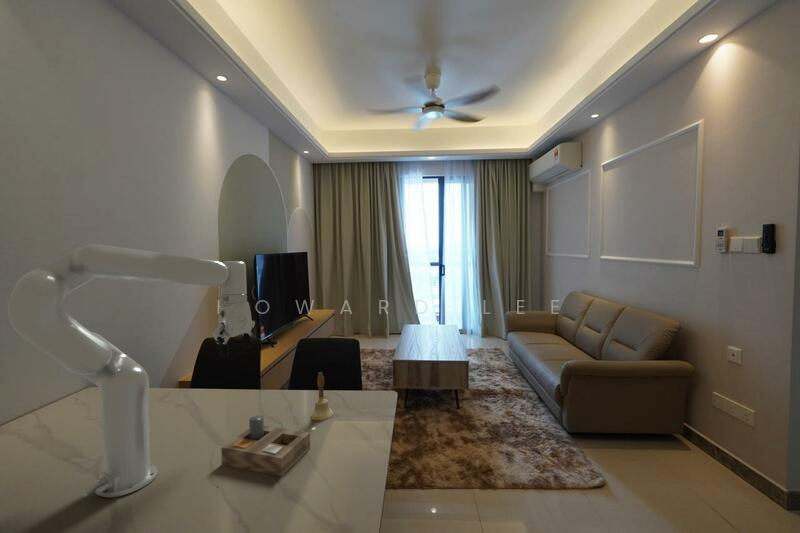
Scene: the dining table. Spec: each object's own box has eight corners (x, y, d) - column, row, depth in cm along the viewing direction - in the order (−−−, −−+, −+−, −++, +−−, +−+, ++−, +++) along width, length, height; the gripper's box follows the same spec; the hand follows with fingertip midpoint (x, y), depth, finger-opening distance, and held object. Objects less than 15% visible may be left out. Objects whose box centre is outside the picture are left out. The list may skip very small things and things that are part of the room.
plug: (258, 452, 103) (257, 422, 103) (247, 450, 104) (246, 420, 104) (267, 445, 107) (266, 416, 106) (256, 443, 108) (255, 414, 108)
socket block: (310, 448, 106) (309, 431, 106) (281, 476, 93) (281, 457, 93) (255, 439, 112) (255, 423, 112) (221, 464, 99) (221, 446, 99)
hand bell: (310, 422, 124) (309, 377, 123) (310, 412, 132) (309, 370, 131) (334, 418, 126) (333, 375, 125) (332, 409, 134) (331, 368, 133)
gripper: (222, 303, 102) (224, 360, 103) (262, 296, 119) (263, 346, 119) (202, 302, 105) (204, 359, 105) (244, 296, 121) (245, 344, 122)
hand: (235, 352), depth 112 cm, fingers open, 9 cm apart
